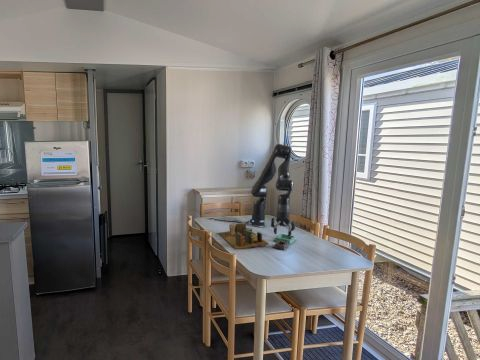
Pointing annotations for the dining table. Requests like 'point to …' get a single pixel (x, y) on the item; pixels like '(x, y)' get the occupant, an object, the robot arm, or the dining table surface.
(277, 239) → the holder
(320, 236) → the dining table surface
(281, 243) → the frame
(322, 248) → the dining table surface
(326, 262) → the dining table surface
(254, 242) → the brown tray with blocks
